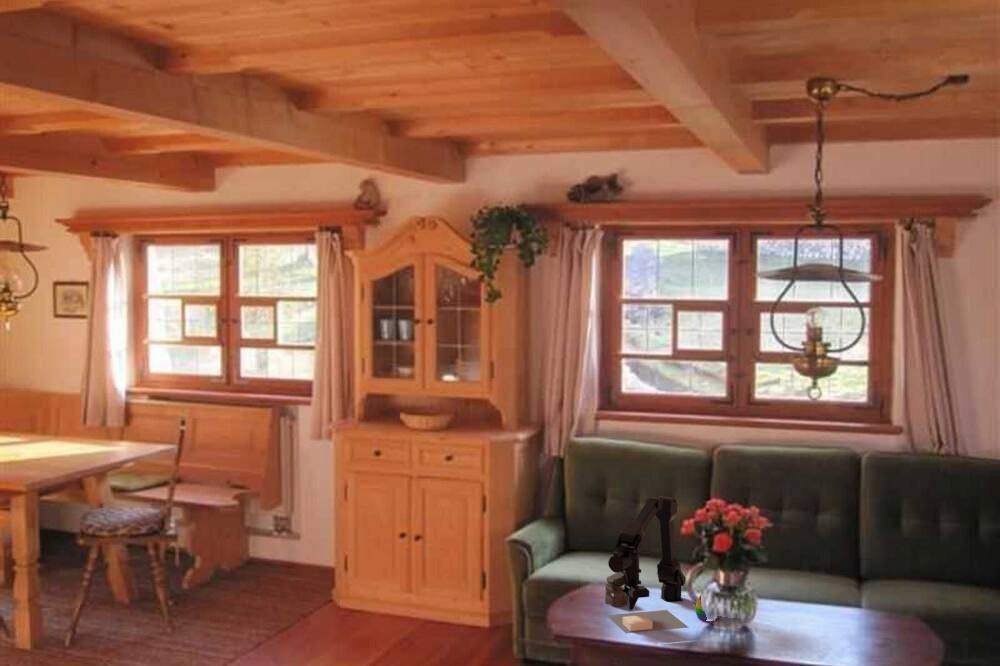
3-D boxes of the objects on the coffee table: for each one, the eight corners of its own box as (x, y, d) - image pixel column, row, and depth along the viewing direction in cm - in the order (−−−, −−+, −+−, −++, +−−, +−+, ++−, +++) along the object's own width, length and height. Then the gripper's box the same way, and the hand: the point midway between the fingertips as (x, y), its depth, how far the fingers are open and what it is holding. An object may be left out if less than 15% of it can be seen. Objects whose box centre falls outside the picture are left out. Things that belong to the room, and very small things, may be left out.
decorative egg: (697, 614, 342) (697, 587, 342) (720, 617, 340) (721, 589, 339) (694, 622, 335) (694, 594, 334) (717, 625, 332) (718, 596, 331)
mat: (666, 610, 346) (666, 609, 346) (688, 628, 329) (688, 627, 329) (606, 616, 341) (606, 615, 341) (625, 634, 323) (625, 633, 323)
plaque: (644, 614, 333) (652, 621, 326) (644, 622, 333) (652, 629, 326) (622, 616, 331) (630, 623, 324) (622, 624, 331) (630, 631, 324)
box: (604, 603, 355) (605, 583, 354) (618, 601, 357) (619, 581, 357) (613, 608, 349) (613, 588, 349) (627, 606, 352) (628, 586, 351)
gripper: (599, 559, 341) (599, 603, 342) (619, 575, 323) (619, 621, 324) (628, 557, 344) (628, 600, 345) (650, 572, 326) (650, 618, 327)
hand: (630, 609), depth 335 cm, fingers closed
